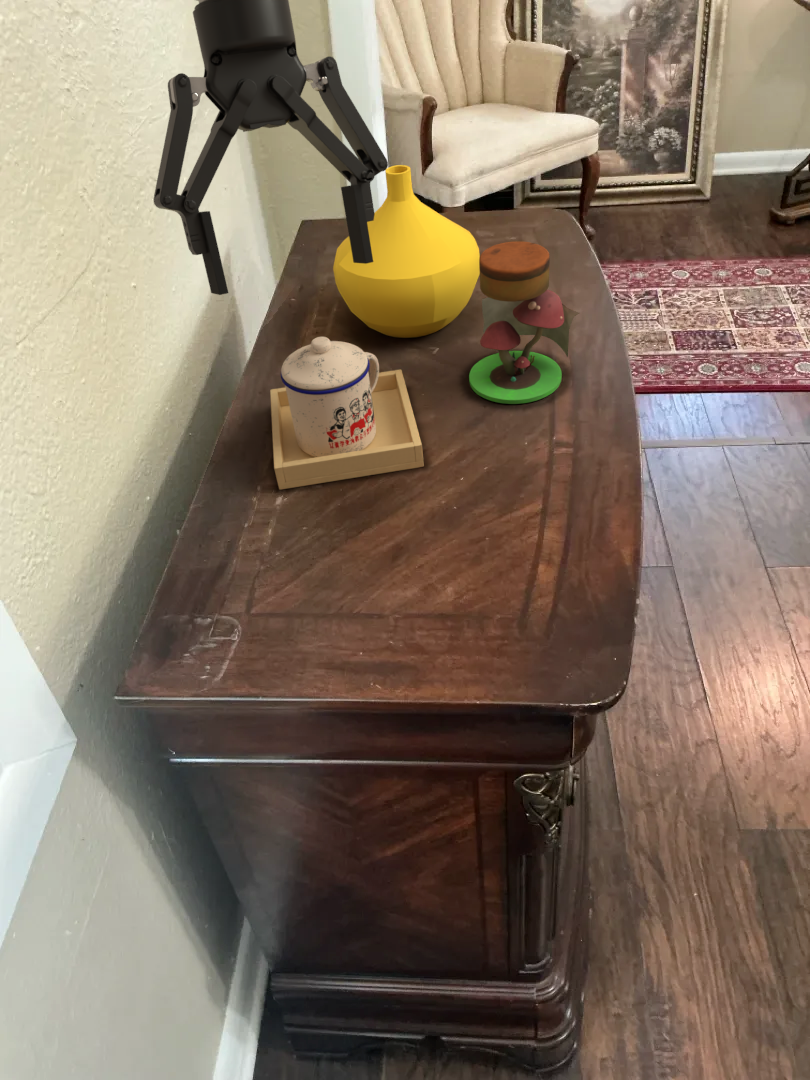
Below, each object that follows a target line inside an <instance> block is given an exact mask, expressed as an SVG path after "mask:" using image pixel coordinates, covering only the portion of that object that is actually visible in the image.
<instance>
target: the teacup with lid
mask: <svg viewBox="0 0 810 1080" xmlns="http://www.w3.org/2000/svg"><path fill="white" fill-rule="evenodd" d="M379 373H380V364H379V359H378V358H377V356H376V355H375V354H374V353H371V352H368V351H364V350H363V349H362V348H361V347H359V346H357V345H355V344H353V343H349V342H345V341H340V340H339V341H338V340H330V339H329V338H328V337H326V336H317V337H315V338H313V339H312V340H311V342H310V343H309V344H307V345H305V346H302V347H300V348H298V349H296V350H295V351H293V352H292V353H290V354H289V355H288V356H287V357H286V359H285V360H284V361H283V363H282V366H281V369H280V379H281V381H282V383H283V384H284V387H286V392H287V397H288V401H289V406H290V411H291V415H292V420H293V425H294V430H295V434H296V439H297V443H298V445H299V447H300V448H301V449H302V450H303V451H304V452H305V453H307V454H309V455H311V456H314V457H322V456H328V455H334V454H341V453H347V452H353V451H359V450H363V449H364V448H366V447H367V446H368V445H369V444H370V443H371V442H372V440H373V439H374V437H375V434H376V425H375V418H374V410H373V403H372V396H371V393H372V391H373V390H374V388H375V386H376V384H377V381H378V376H379Z"/></svg>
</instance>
